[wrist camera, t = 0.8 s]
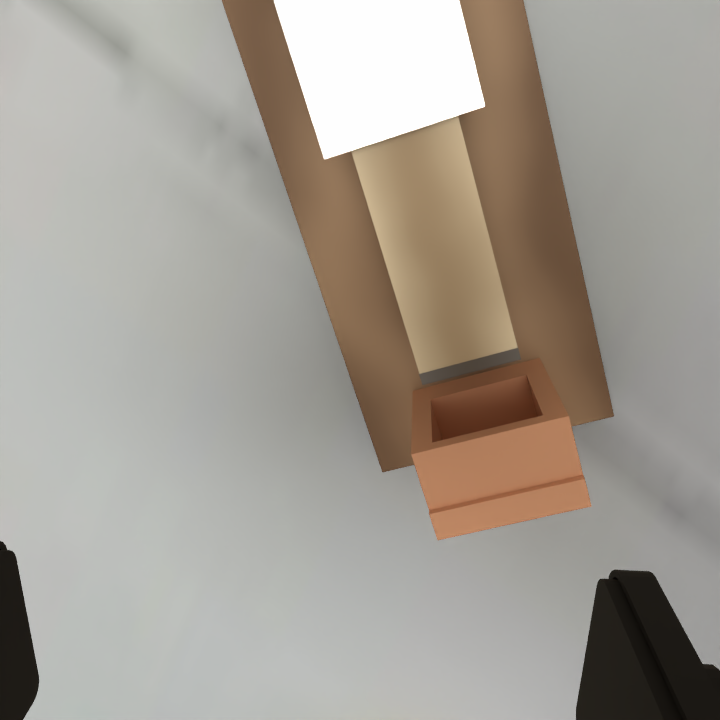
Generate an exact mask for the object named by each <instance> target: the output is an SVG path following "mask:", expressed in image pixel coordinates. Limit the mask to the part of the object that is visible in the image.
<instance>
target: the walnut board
mask: <svg viewBox="0 0 720 720" xmlns="http://www.w3.org/2000/svg"><path fill="white" fill-rule="evenodd" d="M222 2H223V5H224V8H225V11H226V14H227V17H228V20H229V23H230V26H231V29H232V32H233V35H234V38H235V40H236V43H237V46H238V49H239V52H240V55H241V58H242V61H243V64H244V67H245V70H246V73H247V76H248V79H249V82H250V85H251V87H252V90H253V93H254V96H255V99H256V102H257V105H258V108H259V111H260V114H261V117H262V120H263V123H264V126H265V129H266V131H267V134H268V137H269V140H270V143H271V146H272V149H273V152H274V155H275V158H276V161H277V164H278V167H279V170H280V173H281V176H282V178H283V181H284V184H285V187H286V190H287V193H288V196H289V199H290V202H291V205H292V208H293V211H294V214H295V217H296V220H297V222H298V225H299V228H300V231H301V234H302V237H303V240H304V243H305V246H306V249H307V252H308V255H309V258H310V261H311V264H312V267H313V269H314V272H315V275H316V278H317V281H318V284H319V287H320V290H321V293H322V296H323V299H324V302H325V305H326V308H327V311H328V313H329V316H330V319H331V322H332V325H333V328H334V331H335V334H336V337H337V340H338V343H339V346H340V349H341V352H342V355H343V357H344V360H345V363H346V366H347V369H348V372H349V375H350V378H351V381H352V384H353V387H354V390H355V393H356V396H357V399H358V402H359V404H360V407H361V410H362V413H363V416H364V419H365V422H366V425H367V428H368V431H369V434H370V437H371V440H372V443H373V446H374V448H375V451H376V454H377V457H378V460H379V463H380V466H381V469H382V472H386V471H390V470H394V469H398V468H402V467H406V466H411V465H414V462H413V459H412V456H411V439H412V396H413V391H414V390H418V389H422V388H426V387H430V386H433V385H437V384H441V383H445V382H449V381H453V380H456V379H460V378H464V377H468V376H472V375H475V374H479V373H483V372H487V371H491V370H495V369H498V368H502V367H506V366H510V365H514V364H517V363H521V362H525V361H529V360H533V359H537V358H540V359H541V361H542V363H543V365H544V367H545V369H546V371H547V373H548V375H549V377H550V379H551V381H552V383H553V385H554V387H555V389H556V391H557V393H558V395H559V397H560V399H561V401H562V403H563V405H564V407H565V409H566V411H567V413H568V415H569V419H570V423H571V427H572V426H576V425H580V424H584V423H588V422H592V421H596V420H601V419H605V418H609V417H613V416H614V414H613V409H612V405H611V400H610V396H609V391H608V386H607V382H606V377H605V373H604V368H603V364H602V359H601V354H600V350H599V345H598V341H597V336H596V331H595V327H594V322H593V318H592V313H591V309H590V304H589V299H588V295H587V290H586V286H585V281H584V277H583V272H582V267H581V263H580V258H579V254H578V249H577V244H576V240H575V235H574V231H573V226H572V222H571V217H570V212H569V208H568V203H567V199H566V194H565V190H564V185H563V180H562V176H561V171H560V167H559V162H558V158H557V153H556V148H555V144H554V139H553V135H552V130H551V125H550V121H549V116H548V112H547V107H546V103H545V98H544V93H543V89H542V84H541V80H540V75H539V71H538V66H537V61H536V57H535V52H534V48H533V43H532V38H531V34H530V29H529V25H528V20H527V16H526V11H525V6H524V2H523V0H459V2H460V6H461V10H462V14H463V18H464V22H465V26H466V30H467V34H468V39H469V43H470V47H471V51H472V55H473V59H474V63H475V67H476V71H477V75H478V79H479V84H480V88H481V92H482V96H483V100H484V104H485V107H482V108H479V109H476V110H472V111H469V112H466V113H463V114H460V115H458V118H459V121H460V125H461V129H462V133H463V137H464V141H465V145H466V149H467V153H468V157H469V160H470V164H471V168H472V172H473V176H474V180H475V184H476V188H477V192H478V195H479V199H480V203H481V207H482V211H483V215H484V219H485V223H486V227H487V230H488V234H489V238H490V242H491V246H492V250H493V254H494V258H495V262H496V266H497V269H498V273H499V277H500V281H501V285H502V289H503V293H504V297H505V301H506V304H507V308H508V312H509V316H510V320H511V324H512V328H513V332H514V336H515V339H516V343H517V346H518V349H519V353H520V357H521V360H517V361H513V362H509V363H505V364H502V365H498V366H494V367H490V368H486V369H483V370H479V371H475V372H471V373H467V374H464V375H460V376H456V377H452V378H448V379H445V380H441V381H437V382H433V383H429V384H425V385H422V382H421V379H420V376H419V371H418V367H417V364H416V361H415V358H414V354H413V351H412V348H411V344H410V341H409V338H408V335H407V331H406V328H405V325H404V322H403V318H402V315H401V312H400V309H399V305H398V302H397V299H396V296H395V292H394V289H393V286H392V283H391V279H390V276H389V273H388V270H387V266H386V263H385V260H384V257H383V253H382V250H381V247H380V244H379V240H378V237H377V234H376V230H375V227H374V224H373V221H372V217H371V214H370V211H369V208H368V204H367V201H366V198H365V195H364V191H363V188H362V185H361V182H360V178H359V175H358V172H357V169H356V165H355V162H354V159H353V156H352V152H351V151H348V152H345V153H342V154H339V155H336V156H333V157H330V158H327V159H324V156H323V153H322V150H321V147H320V144H319V141H318V138H317V135H316V131H315V128H314V125H313V122H312V119H311V116H310V113H309V109H308V106H307V103H306V100H305V97H304V94H303V91H302V88H301V84H300V81H299V78H298V75H297V72H296V69H295V66H294V63H293V59H292V56H291V53H290V50H289V47H288V44H287V41H286V38H285V34H284V31H283V28H282V25H281V22H280V19H279V16H278V13H277V9H276V6H275V3H274V0H222Z"/></svg>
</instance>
